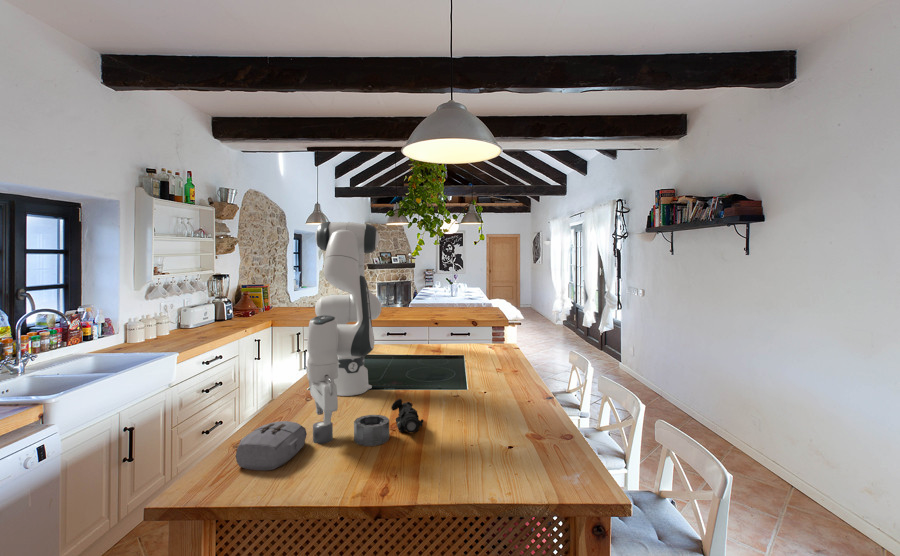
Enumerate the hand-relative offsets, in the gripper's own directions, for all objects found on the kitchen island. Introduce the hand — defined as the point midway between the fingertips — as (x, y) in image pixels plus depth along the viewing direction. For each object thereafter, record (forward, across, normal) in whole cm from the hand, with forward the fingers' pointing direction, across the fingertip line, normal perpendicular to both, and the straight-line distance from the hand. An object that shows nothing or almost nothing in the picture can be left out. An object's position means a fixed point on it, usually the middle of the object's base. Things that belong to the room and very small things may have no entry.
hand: (323, 418), depth 131 cm
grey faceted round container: (+6, -5, -13) cm, 16 cm away
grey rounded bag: (+7, -3, +14) cm, 16 cm away
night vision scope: (+7, -3, -26) cm, 27 cm away
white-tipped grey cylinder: (+6, +1, 0) cm, 7 cm away
